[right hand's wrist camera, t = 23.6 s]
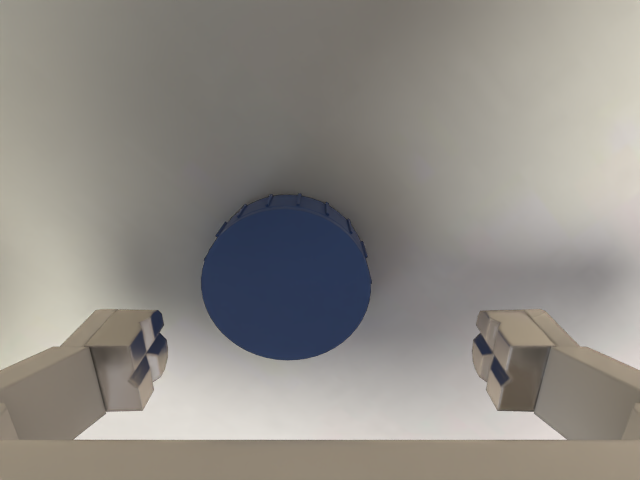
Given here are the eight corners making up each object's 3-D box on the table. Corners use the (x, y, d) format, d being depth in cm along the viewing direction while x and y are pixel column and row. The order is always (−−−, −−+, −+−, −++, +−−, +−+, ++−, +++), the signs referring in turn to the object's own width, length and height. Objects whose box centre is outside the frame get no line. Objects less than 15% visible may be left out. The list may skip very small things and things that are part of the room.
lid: (387, 304, 16) (395, 331, 14) (251, 350, 17) (243, 381, 15) (335, 168, 14) (337, 180, 12) (184, 226, 15) (166, 245, 13)
